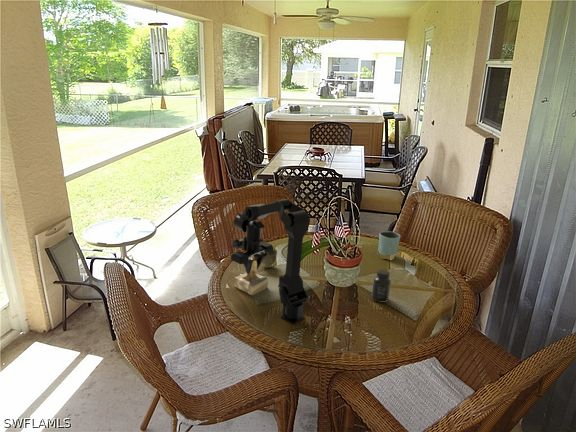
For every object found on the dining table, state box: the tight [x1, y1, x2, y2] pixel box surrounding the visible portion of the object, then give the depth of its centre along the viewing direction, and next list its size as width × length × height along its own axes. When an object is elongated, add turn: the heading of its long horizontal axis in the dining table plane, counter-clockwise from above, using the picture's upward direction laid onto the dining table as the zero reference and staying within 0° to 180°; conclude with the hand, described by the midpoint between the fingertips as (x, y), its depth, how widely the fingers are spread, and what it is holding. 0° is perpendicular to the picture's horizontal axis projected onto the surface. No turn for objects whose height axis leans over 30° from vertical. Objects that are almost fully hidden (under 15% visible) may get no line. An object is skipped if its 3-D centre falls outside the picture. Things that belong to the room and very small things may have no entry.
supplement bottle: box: [371, 269, 392, 302], centre depth 167 cm, size 7×7×12 cm
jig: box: [234, 272, 269, 296], centre depth 170 cm, size 10×9×5 cm
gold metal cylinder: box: [247, 256, 258, 278], centre depth 168 cm, size 4×4×7 cm
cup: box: [262, 248, 278, 269], centre depth 188 cm, size 8×7×8 cm
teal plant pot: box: [377, 230, 401, 255], centre depth 208 cm, size 10×10×12 cm
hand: (251, 271), depth 168 cm, fingers closed on gold metal cylinder, 4 cm apart
